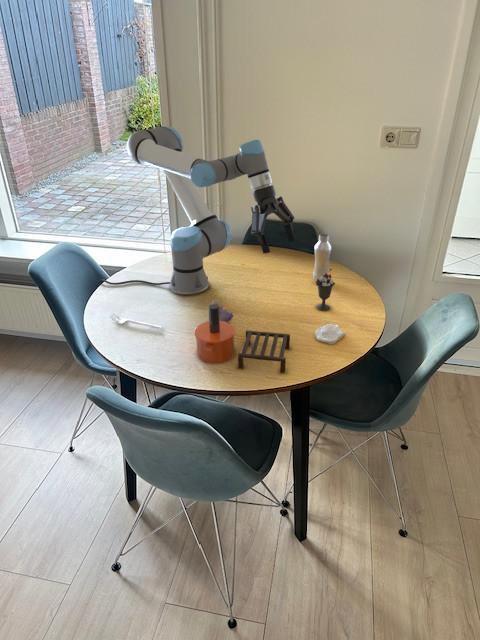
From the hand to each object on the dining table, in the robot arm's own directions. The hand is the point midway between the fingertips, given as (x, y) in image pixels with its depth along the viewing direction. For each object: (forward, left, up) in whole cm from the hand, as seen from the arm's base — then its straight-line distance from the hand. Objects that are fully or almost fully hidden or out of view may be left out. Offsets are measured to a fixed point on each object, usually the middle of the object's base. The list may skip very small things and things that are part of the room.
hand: (279, 247), depth 169 cm
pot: (-15, -38, -21) cm, 46 cm away
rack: (+1, -38, -21) cm, 44 cm away
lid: (-15, -38, -14) cm, 43 cm away
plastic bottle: (+15, +18, -22) cm, 32 cm away
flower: (-18, -22, -22) cm, 35 cm away
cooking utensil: (-52, -25, -21) cm, 61 cm away
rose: (+20, -23, -22) cm, 37 cm away
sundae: (+17, -3, -22) cm, 28 cm away
